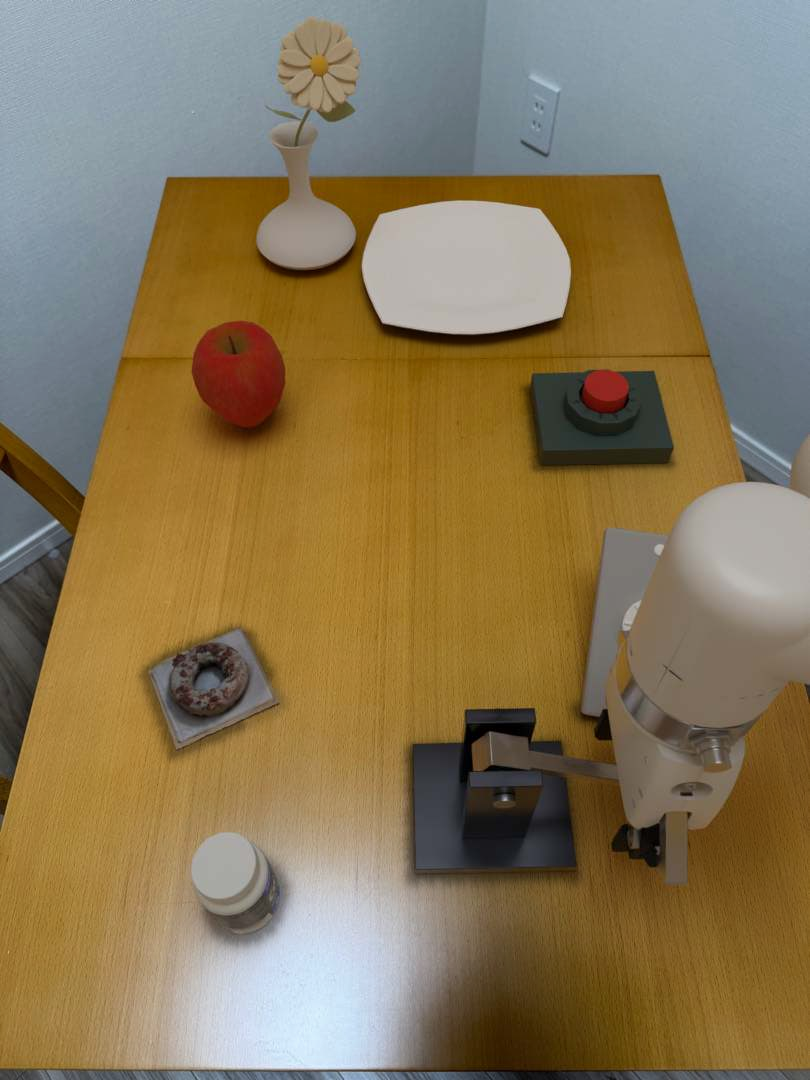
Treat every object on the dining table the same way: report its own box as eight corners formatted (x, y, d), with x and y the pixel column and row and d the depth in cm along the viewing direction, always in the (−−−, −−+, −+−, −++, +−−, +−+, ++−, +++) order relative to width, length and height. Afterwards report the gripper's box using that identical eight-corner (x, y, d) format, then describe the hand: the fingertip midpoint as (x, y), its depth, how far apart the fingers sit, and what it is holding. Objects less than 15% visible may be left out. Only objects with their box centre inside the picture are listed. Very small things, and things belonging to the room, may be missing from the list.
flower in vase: (252, 279, 96) (206, 47, 76) (265, 218, 103) (227, -11, 82) (367, 281, 96) (353, 47, 75) (373, 219, 102) (362, -11, 82)
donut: (244, 625, 71) (239, 613, 69) (278, 704, 67) (275, 692, 65) (146, 667, 69) (139, 655, 67) (176, 750, 65) (169, 740, 63)
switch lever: (623, 749, 60) (645, 737, 58) (636, 821, 57) (659, 811, 55) (469, 723, 55) (487, 709, 54) (474, 799, 53) (493, 787, 51)
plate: (362, 351, 89) (361, 336, 88) (361, 217, 102) (361, 203, 101) (583, 343, 89) (586, 329, 88) (553, 211, 103) (556, 196, 101)
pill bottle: (292, 910, 58) (275, 880, 51) (228, 948, 57) (201, 922, 50) (263, 848, 60) (243, 811, 53) (201, 883, 59) (172, 849, 52)
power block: (649, 386, 86) (658, 356, 82) (668, 463, 80) (679, 434, 77) (529, 389, 86) (534, 359, 82) (540, 465, 80) (545, 437, 77)
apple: (231, 379, 87) (209, 293, 78) (308, 398, 85) (295, 313, 77) (192, 439, 83) (164, 355, 74) (272, 460, 81) (254, 377, 72)
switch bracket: (558, 746, 64) (583, 677, 55) (574, 871, 59) (604, 818, 49) (412, 749, 64) (411, 680, 55) (415, 874, 59) (414, 822, 50)
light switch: (582, 715, 64) (607, 524, 65) (575, 709, 70) (598, 534, 71) (699, 734, 63) (722, 540, 64) (681, 726, 69) (702, 548, 70)
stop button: (621, 382, 81) (624, 369, 80) (628, 413, 79) (632, 400, 77) (579, 383, 81) (581, 369, 80) (584, 414, 79) (587, 401, 77)
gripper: (813, 844, 39) (706, 924, 54) (726, 536, 49) (656, 673, 64) (650, 848, 39) (587, 926, 54) (595, 538, 49) (555, 675, 64)
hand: (625, 788), depth 59 cm, fingers open, 7 cm apart
